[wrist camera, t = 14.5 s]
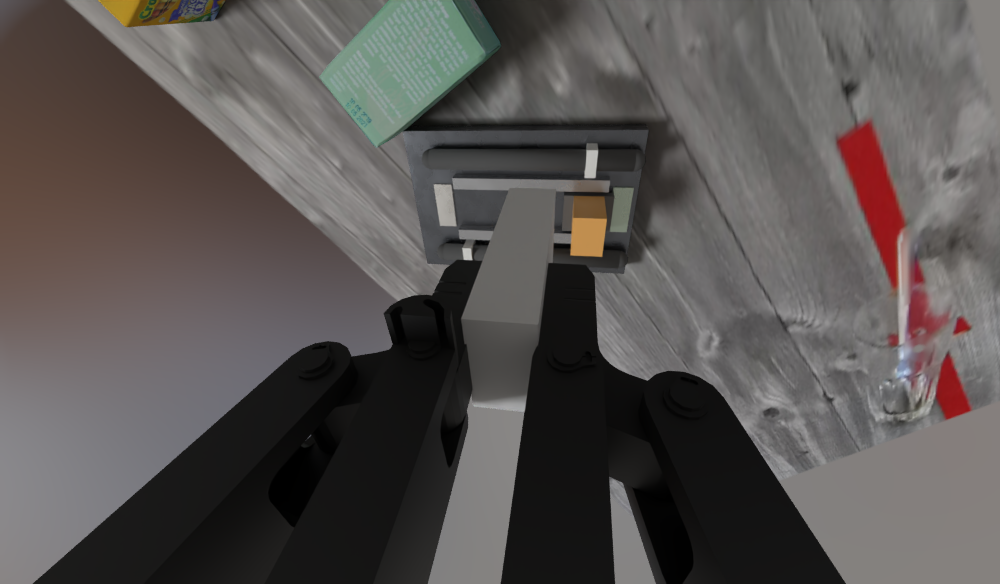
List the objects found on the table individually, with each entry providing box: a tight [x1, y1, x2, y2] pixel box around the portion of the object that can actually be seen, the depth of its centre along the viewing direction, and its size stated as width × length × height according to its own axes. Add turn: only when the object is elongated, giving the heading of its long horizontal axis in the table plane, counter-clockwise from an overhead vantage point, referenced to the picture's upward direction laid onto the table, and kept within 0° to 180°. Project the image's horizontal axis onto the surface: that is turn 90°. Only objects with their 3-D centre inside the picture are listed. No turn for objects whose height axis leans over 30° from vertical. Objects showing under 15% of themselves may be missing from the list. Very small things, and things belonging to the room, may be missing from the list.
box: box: [319, 0, 501, 148], centre depth 34 cm, size 7×14×8 cm, turn 126°
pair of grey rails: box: [422, 143, 646, 269], centre depth 42 cm, size 14×22×2 cm, turn 92°
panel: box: [403, 124, 649, 274], centre depth 43 cm, size 16×24×3 cm, turn 92°
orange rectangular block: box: [562, 192, 615, 257], centre depth 39 cm, size 4×5×6 cm
